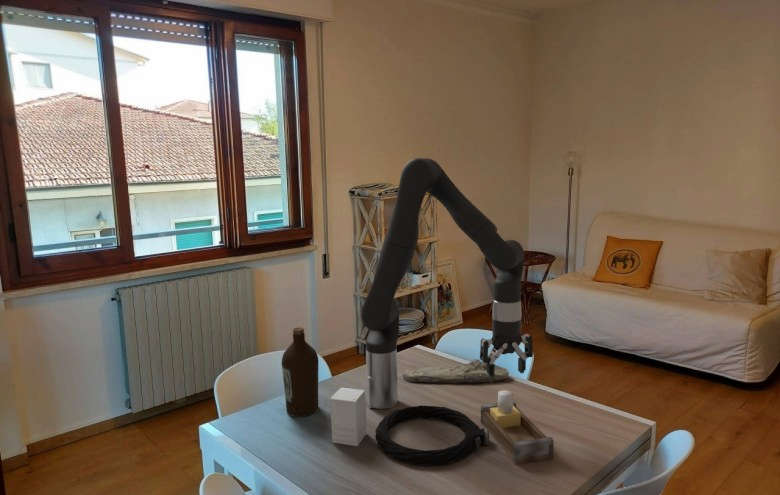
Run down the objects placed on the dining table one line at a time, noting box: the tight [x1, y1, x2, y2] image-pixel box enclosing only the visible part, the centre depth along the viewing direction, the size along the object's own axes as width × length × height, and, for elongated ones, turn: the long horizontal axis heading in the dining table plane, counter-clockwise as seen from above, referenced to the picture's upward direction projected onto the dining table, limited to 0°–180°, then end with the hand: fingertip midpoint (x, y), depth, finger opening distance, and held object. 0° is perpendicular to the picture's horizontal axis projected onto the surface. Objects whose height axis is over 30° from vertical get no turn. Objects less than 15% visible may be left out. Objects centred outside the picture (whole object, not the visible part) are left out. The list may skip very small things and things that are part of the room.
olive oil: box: [281, 327, 319, 418], centre depth 164 cm, size 11×11×25 cm
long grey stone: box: [402, 358, 510, 384], centre depth 186 cm, size 35×5×10 cm
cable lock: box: [374, 405, 490, 466], centre depth 149 cm, size 28×4×30 cm
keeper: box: [490, 389, 521, 428], centre depth 153 cm, size 7×5×8 cm
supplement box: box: [329, 387, 368, 447], centre depth 149 cm, size 7×7×13 cm
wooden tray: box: [480, 400, 555, 465], centre depth 147 cm, size 10×22×5 cm, turn 13°
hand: (506, 374), depth 151 cm, fingers open, 8 cm apart
